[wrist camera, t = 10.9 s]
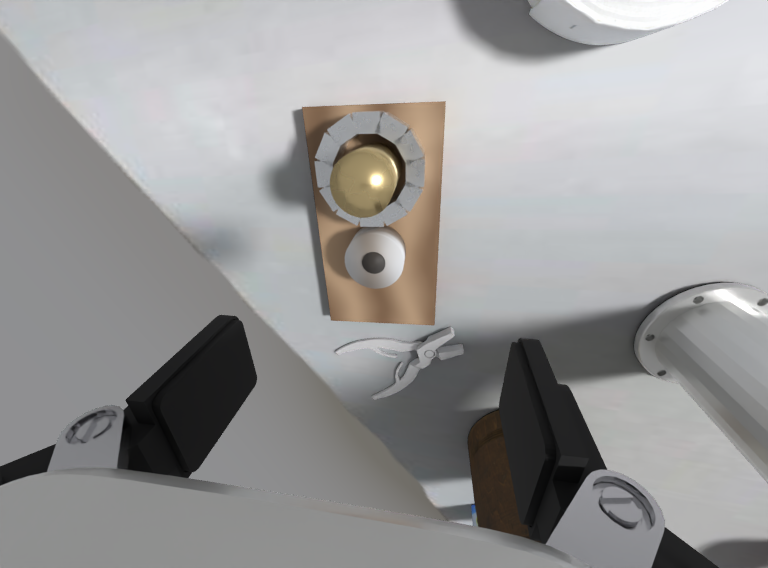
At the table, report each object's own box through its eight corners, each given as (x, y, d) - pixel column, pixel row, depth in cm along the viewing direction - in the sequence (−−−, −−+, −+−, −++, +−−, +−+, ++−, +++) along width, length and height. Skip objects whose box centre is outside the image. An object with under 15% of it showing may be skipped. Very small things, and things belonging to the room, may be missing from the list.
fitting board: (444, 101, 27) (447, 100, 23) (434, 317, 38) (434, 343, 34) (307, 107, 29) (287, 107, 25) (334, 313, 39) (323, 337, 35)
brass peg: (400, 140, 28) (392, 150, 21) (402, 192, 30) (394, 217, 23) (350, 142, 28) (325, 153, 21) (355, 193, 30) (333, 218, 23)
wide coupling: (426, 109, 26) (426, 109, 24) (423, 216, 31) (423, 227, 28) (319, 113, 28) (308, 114, 25) (331, 216, 32) (322, 226, 29)
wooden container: (598, 452, 45) (720, 706, 26) (503, 483, 51) (547, 708, 32) (542, 388, 41) (639, 635, 22) (446, 430, 47) (457, 652, 28)
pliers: (332, 355, 41) (439, 311, 36) (335, 347, 43) (439, 303, 37) (373, 405, 45) (476, 372, 40) (375, 396, 46) (475, 363, 41)
